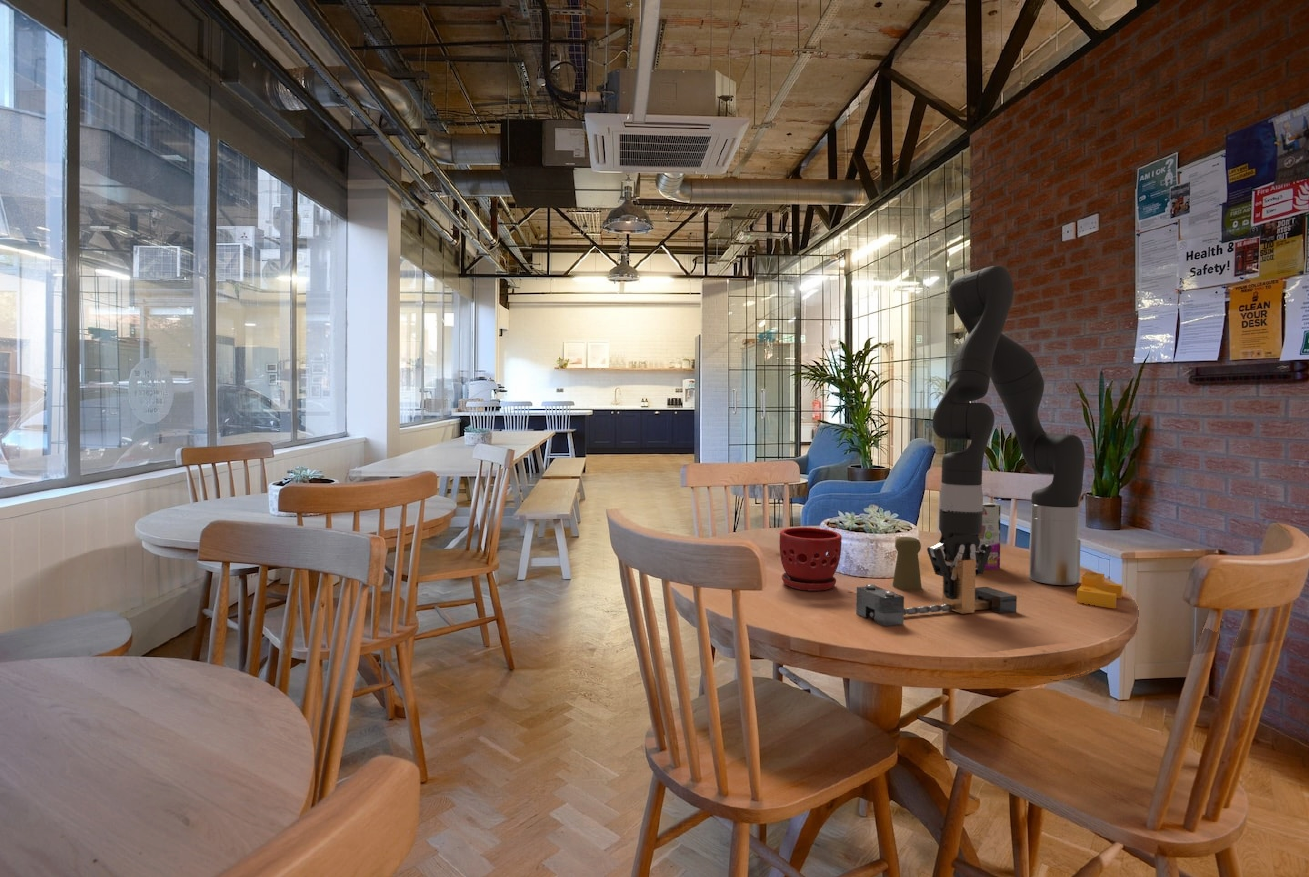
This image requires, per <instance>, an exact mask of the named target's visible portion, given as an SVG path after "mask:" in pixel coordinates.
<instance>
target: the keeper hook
mask: <svg viewBox="0 0 1309 877" xmlns="http://www.w3.org/2000/svg"><path fill="white" fill-rule="evenodd" d="M987 598H988V599H991V600H992V608H991V611H992V612H994V613H997V614H1009V613H1010V614H1011V613H1016V612H1017V602H1018V601H1017V600H1018V595H1015V594H1013V593H1009V592H1006V591H1002V590H1000V589H995V588H992V587H988V586H980V587H975V600H977V599H987Z"/></svg>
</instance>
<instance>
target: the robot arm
mask: <svg viewBox="0 0 1309 877" xmlns="http://www.w3.org/2000/svg"><path fill="white" fill-rule="evenodd" d="M1014 287H1015V286H1014V282H1013V278H1012V276H1011V274H1010V272H1009V271H1008V270H1007V268H1005V267H1004V266H1002V265H1000V264H999V265H992V266H987V267H984V268H982V269H979V270H975V271H972V272H969V273H965V274H964V275H963V274H962V275H960V276H958V277H956V278H954V279H952V281H951V282H950V284H949V297H950V300H951V304H952V306H953V308H954V311H955V313H956V314H957V316H958V318H959V320H960V322H961V323H962V324H963V326H964V328H965V330H966V331H967V333H968V335H967V336H966V338H965V339H964V340H963V342H961V345H960V347H959V348H958V349H957V351H956V352H955V356H954V358H953V362H952V367H951V372H950V378H949V383H948V385H947V388H946V390H945V392H944V394H943V396H942V397H941V399H940V401H939V402H938V404H937V406H936V408H935V410H934V412H933V416H932V429H933V431H934V433H935V435H936V436H938V438H940V439H942V440H958V441H959V440H961V441H966V440H967V441H970V444H969V446H968V447H967V448H966V449H963V450H960V451H952V452H948V453H946V454H944V455H943V456H942V459H941V483H940V492H939V502H938V503H939V508H938V513H939V514H938V530H939V531H940V533H941V536H940V538H939V540H938V541H939V543H937V544H935V545H934V546H931V545H929V546H927V548H926V550H927V554H928V557H929V560H930V563H931V566H932V568H933V572H934V574H935V575H937V576H939V577H942V579H943V578H944V594H945V596H946V598H949V599H952V600H953V599H956V597H957V580H955V579H956V577H957V571H958V568H959V567H960V560H962V559H964V558H969V559H975V560H976V570H975V578H976V576H978V575H979V576H981V575H983V573H984V571H985V569H984V568H985V566H986V563H987V560H988V557H989V555H990V552H991V549H992V548H991V546H990V545H986V544H983V543H981V542H980V539H979V535H978V534H980V533H981V532H982V512H983V511H982V510H983V503H984V496H983V495H984V494H983V485H982V484H983V463H984V456H985V452H986V449H987V446H988V442H989V440H990V436H991V434H992V432H993V428H994V425H995V413H994V411H993V409H992V408H991V406H989V405H988V404H987V403H986V402H985V403H983V402H975V401H978V400H980V399H983V398H984V397H985V396H986V395H987V393H988V391H989V388H990V380H991V382H992V383H993V386H994V389H995V391H996V392H997V394H998V396H999V398H1000V400H1001V402H1002V405H1003V406H1004V408H1005V411H1006V414H1007V415H1008V418H1009V420H1010V423H1011V425H1012V427H1013V431H1014V434H1015V436H1016V439H1017V440H1016V441H1017V442H1018V445H1019V449H1020V452H1021V454H1022V457H1023V459H1024V462H1025V463H1026V466H1027V467H1028V468H1029V469H1030V470H1031V471H1032V472H1035V473H1036V474H1041V475H1042V474H1043V475H1052V480H1051V483H1050V484H1049V485H1048V486H1046V487H1044V488H1039V489H1035V490H1034V491H1032V494H1031V498H1030V499H1031V500H1030V501H1031V504H1030V505H1031V506H1030V508H1031V509H1030V510H1031V512H1030V537H1029V538H1030V540H1029V541H1030V545H1029V547H1030V548H1029V571H1028V572H1029V574H1028V579H1030V580H1032V581H1033V582H1037V583H1043V584H1047V585H1055V586H1057V585H1058V586H1073V585H1076V584H1077V583H1080V578H1081V577H1080V574H1081V572H1080V571H1081V541H1082V540H1080V539H1079V538H1078V536H1079V509H1080V508H1079V507H1080V506H1079V504H1080V498H1081V495H1082V492H1083V485H1084V484H1083V483H1084V482H1083V481H1084V473H1085V472H1084V470H1085V463H1086V462H1085V460H1086V459H1085V458H1086V457H1085V456H1086V451H1085V446H1084V444H1083V441H1082V439H1081V438H1080V437H1079V436H1078V435H1075V434H1071V433H1068V434H1067V433H1047V432H1046V431H1045V430H1044V428H1043V426H1042V424H1041V422H1040V418H1039V413H1038V412H1039V408H1040V406H1041V402H1042V398H1043V396H1044V391H1045V381H1044V377H1043V375H1042V373H1041V370H1040V368H1039V365H1038V363H1037V361H1036V359H1035V357H1034V356H1033V354H1032V353H1031V352H1030V351H1029V350H1027V349H1026V348H1025V347H1024V346H1022V345H1020V344H1019V343H1018V342H1016V341H1015V340H1012V339H1011V338H1010V337H1008V336H1006V335H1005V334H1003V330H1004V326H1005V324H1006V321H1007V318H1008V315H1009V313H1010V310H1011V306H1012V303H1013V300H1014V293H1015V292H1014V291H1015V290H1014ZM973 401H974V402H973ZM948 559H949V560H951V561H954V562H953V563H952V562H949V560H948ZM978 562H979V565H978V567H977V564H978ZM950 567H951V572H949V571H950Z"/></svg>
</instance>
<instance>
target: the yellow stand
mask: <svg viewBox="0 0 1309 877" xmlns="http://www.w3.org/2000/svg"><path fill="white" fill-rule="evenodd" d="M1122 597H1123V584H1119V583H1113V582H1105V573H1101V572H1092V571H1086V572H1085V573H1084V574H1082V576H1081V584H1080V586H1079V587H1078V588H1077V590H1076V603H1077V602H1079V603H1078V604H1082V603H1084V605H1088V604H1090V606H1094V605H1095V606H1096V607H1101V608H1107V609H1116V608H1117V599H1122ZM1095 606H1094V607H1095Z"/></svg>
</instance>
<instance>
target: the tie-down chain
mask: <svg viewBox="0 0 1309 877" xmlns="http://www.w3.org/2000/svg"><path fill="white" fill-rule="evenodd" d="M948 560H949V559H948ZM949 562H952V563H953V562H954V561H951V560H949ZM975 570H976V560H975V559H969V558H964V559H962V560H960V567H959V568H958V571H957V577H956V579H955V580H957V597H956V599H953V600H952V599H949V598H946V596H945V594H944V578H943V577H942V600H941V601H942V602H941V605H939V604H935V605H930V606H928V605H925V606H917V607H915V606H913V607H907V608H904V616H905V615H916V614H926V613H939V612H949V611H952V612H953V611H954V612H956V613H959V614H962V615H963V614H972V613H975V611H979V610H988V609H990V610H991V609H992V600H991V599H988V598H987V599H977V600H975V588H976V577H975ZM949 572H951V567H950V571H949ZM870 618H872V619H875V611H872V612H870Z"/></svg>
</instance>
